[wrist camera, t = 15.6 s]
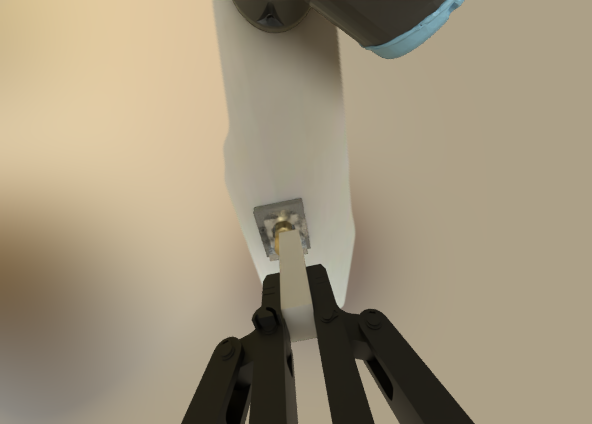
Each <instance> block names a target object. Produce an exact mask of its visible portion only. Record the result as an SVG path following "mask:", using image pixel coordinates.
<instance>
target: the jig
mask: <svg viewBox="0 0 592 424" xmlns="http://www.w3.org/2000/svg"><path fill="white" fill-rule="evenodd" d="M253 213H254V216H255V219H256V223H257V226H258V229H259V232H260V235H261V238H262V242H263V245H264V248H265V251H266V254H267V257H269V258H270V261H274V260H279V255H277V254H276V252H275V233H274V232H273V229H272V228H273V227H274V225H275V224H276V223H277V222H282V221H288V222H290V223H291V224H293V225H294V226H295V229H294V230H296V229H298V230H299V235H300V240H301V245H302V249H303V254H308V251H307V249H310V248H311V247H310V242H309V236H308V231H307V225H306V220H305V214H304V209H303V203H302V199H301V198H300V199H295V200H290V201H285V202H280V203H275V204H270V205H265V206H260V207H255V208H254V211H253Z"/></svg>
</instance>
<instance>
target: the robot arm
mask: <svg viewBox="0 0 592 424" xmlns="http://www.w3.org/2000/svg"><path fill="white" fill-rule="evenodd" d="M233 1H234V3H235V5H236V7H237V8H238V10H239V11H240V13H241V14H242V15H243V16H244V17H245V18H246V19H247V20H248V21H249V22H250V23H251V24H252V25H254V26H255V27H257V28H259V29H261V30H264V31H267V32H273V33H277V32H284V31H287V30H289V29H291V28H293V27H295V26H296V25H297V24H299V23H300V22H301V21H302V20H303V18H304V17H305V16H306V15H307V13H308V12H309V10H310V8H311V7H312V8H313V9H315V10H316V11H317V12H319V13H320V14H321V15H323V16H324V17H325V18H327V19H328V20H329V21H331V22H332V23H333V24H335V25H336V26H337V27H339V28H340V29H341V30H342V31H344V32H345V33H346V34H348V35H349V36H350V37H352V38H353V39H355V40H356V41H357V42H358V43H359V44H360V45H361V47H363V48H365V49H367V50H371V51H372V52H374V53H376V54H377V55H378V56H380V57H382V58H386V59H394V58H398V57H401V56H403V55H405V54H407V53H409V52H411V51H412V50H414V49H415V48H417V47H418V46H420V45H421V44H422V43H424V42H425V41H426V40H427V39H428V38H430V37H431V36H432V35H433V34H434V33H435V32H436V31H437V30H438V29H440V28H441V26H442V25H443V24H444V23H445V22H446V21H447V20H448V19H449V15H450V13H451V12H452V11H453V10H455V9H456V8H458V7H459V6H461V4H462V3H463V1H464V0H233ZM279 259H280V273H275V274H270V275H267V276H266V277H265V279H264V281H263V291H262V306H261V307H260V308H259V309H258V310H256V312H255V313H254V315H253V317H252V322H253V324H254V326H255V328H256V329H255V330H254V331H253V332H252V333H250V334H249V335H247V336H245V337H243V338H241V339H238V338H236V337H229V338H226V339H224V340H222V341H221V342H220V343H219V344H218V345H217V347H216V348H215V350H214V352H213V354H212V356H211V359H210V361H209V363H208V365H207V368H206V370H205V372H204V374H203V376H202V379H201V381H200V383H199V386H198V387H197V390H196V392H195V394H194V396H193V399H192V401H191V403H190V405H189V408H188V410H187V412H186V414H185V416H184V418H183V421H182V423H181V424H245V421H246V417H247V413H248V409H249V405H250V416H249V424H298V418H297V404H296V391H295V377H294V364H293V353H292V349H291V342H297V341H302V340H307V339H312V338H317V339H318V345H319V350H320V356H321V361H322V367H323V373H324V377H325V384H326V390H327V395H328V401H329V407H330V412H331V418H332V423H333V424H374V420H373V417H372V414H371V410H370V407H369V404H368V401H367V397H366V394H365V391H364V388H363V384H362V381H361V378H360V375H359V371H358V368H357V365H356V362H355V358H356V359H361V360H363V361H364V363H365V365H366V366H367V368H368V370H369V372H370V373H371V375H372V377H373V378H374V380H375V382H376V383H377V385H378V387H379V389H380V390H381V392H382V394H383V395H384V397H385V399H386V401H387V402H388V404H389V406H390V408H391V409H392V411H393V413H394V414H395V416H396V418H397V419H398V421H399V423H400V424H474V423H473V421H472V420H471V419H470V418H469V416H468V415H467V414H466V413H465V411H464V410H463V409H462V408H461V407H460V405H459V404H458V403H457V402H456V401H455V399H454V398H453V397H452V396H451V394H450V393H449V392H448V391H447V390H446V388H445V387H444V386H443V385H442V384H441V382H440V381H439V380H438V379H437V378H436V376H435V375H434V374H433V373H432V371H431V370H430V369H429V368H428V367H427V365H425V363H424V362H423V361H422V359H421V358H420V357H419V356H418V355H417V353H416V352H415V351H414V350H413V348H411V346H410V345H409V344H408V343H407V341H406V340H405V339H404V338H403V337H402V335H401V334H400V333H399V332H398V330H397V329H396V328H395V327H394V326H393V324H392V323H391V322H390V321H389V319H388V318H387V317H386V316H385V315H384V314H383V313H382V312H380V311H378V310H376V309H367V310H364V311H363V312H361V313H360V315H359V314H351V313H347V312H345V311H343V310H341V309H340V308H339V307H338V305H337V303H336V301H335V298H334V294H333V291H332V288H331V285H330V282H329V278H328V275H327V272H326V269H325V268H324V267H323V266H322V265H321V264H318V265H313V266H308V267H306V265H305V259H304V254H303V249H302V245H301V240H300V235H299V230H298V229H296V230H291V231H286V232H281V233H279ZM290 339H291V340H290ZM250 402H251V404H250Z"/></svg>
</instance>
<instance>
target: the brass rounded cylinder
mask: <svg viewBox="0 0 592 424" xmlns="http://www.w3.org/2000/svg"><path fill="white" fill-rule="evenodd" d="M291 230H292V224H291V223H290V222H288V221H282V222H277V223H276V224H275V252H276V254H277V255H279V233H281V232H286V231H291Z"/></svg>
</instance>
